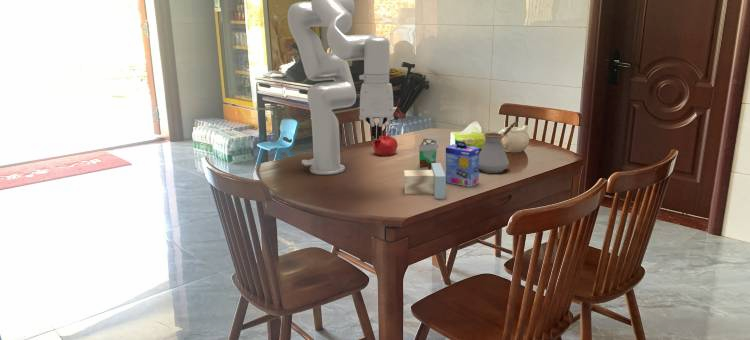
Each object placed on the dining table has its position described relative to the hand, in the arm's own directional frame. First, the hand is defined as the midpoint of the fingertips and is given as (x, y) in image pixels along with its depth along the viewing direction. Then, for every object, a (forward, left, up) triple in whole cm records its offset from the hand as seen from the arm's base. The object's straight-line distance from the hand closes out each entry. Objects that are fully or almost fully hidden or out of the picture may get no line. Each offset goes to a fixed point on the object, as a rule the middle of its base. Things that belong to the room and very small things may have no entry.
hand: (376, 138), depth 179 cm
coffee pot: (+44, +26, -17) cm, 54 cm away
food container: (+19, +26, -17) cm, 36 cm away
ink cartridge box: (+28, +7, -17) cm, 33 cm away
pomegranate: (+3, +50, -17) cm, 53 cm away
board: (+19, -1, -17) cm, 26 cm away
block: (+13, 0, -17) cm, 22 cm away
